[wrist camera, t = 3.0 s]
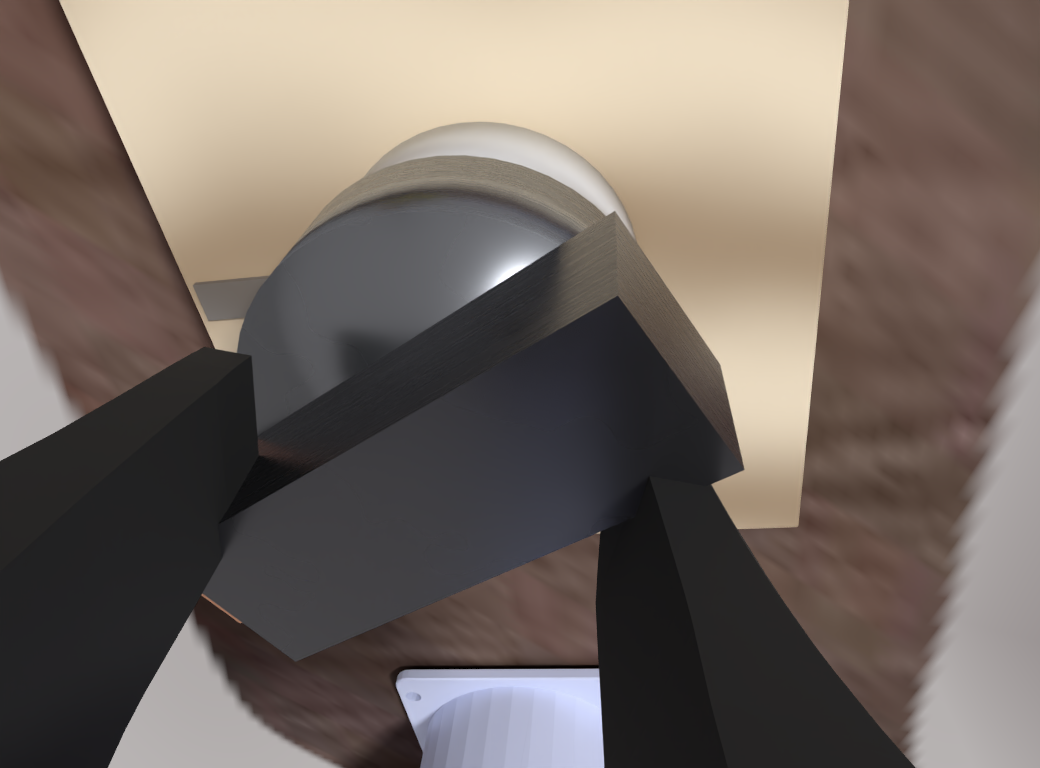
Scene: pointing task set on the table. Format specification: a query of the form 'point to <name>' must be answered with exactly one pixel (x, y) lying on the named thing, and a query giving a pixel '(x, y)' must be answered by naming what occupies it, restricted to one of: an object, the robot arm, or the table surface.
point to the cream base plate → (509, 151)
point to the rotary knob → (453, 398)
